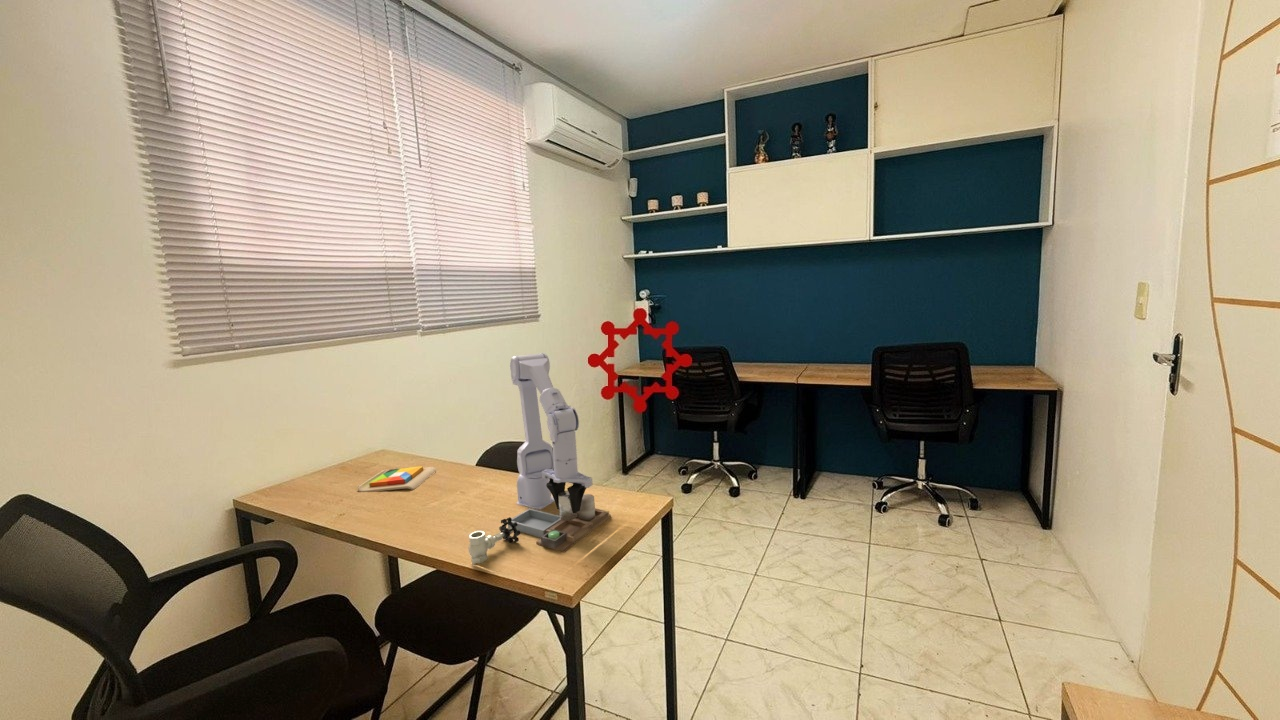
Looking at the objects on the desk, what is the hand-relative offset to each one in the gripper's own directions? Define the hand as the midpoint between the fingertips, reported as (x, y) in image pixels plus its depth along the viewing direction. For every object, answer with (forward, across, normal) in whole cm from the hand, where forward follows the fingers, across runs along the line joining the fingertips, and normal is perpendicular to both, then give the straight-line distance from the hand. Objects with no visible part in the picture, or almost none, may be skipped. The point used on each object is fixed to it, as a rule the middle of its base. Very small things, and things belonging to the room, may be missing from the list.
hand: (568, 509), depth 121 cm
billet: (+2, 0, 0) cm, 2 cm away
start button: (+5, 0, -6) cm, 8 cm away
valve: (+7, -11, -15) cm, 20 cm away
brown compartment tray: (+7, 0, +2) cm, 7 cm away
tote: (+7, -10, -1) cm, 12 cm away
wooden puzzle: (+7, -78, +4) cm, 78 cm away
